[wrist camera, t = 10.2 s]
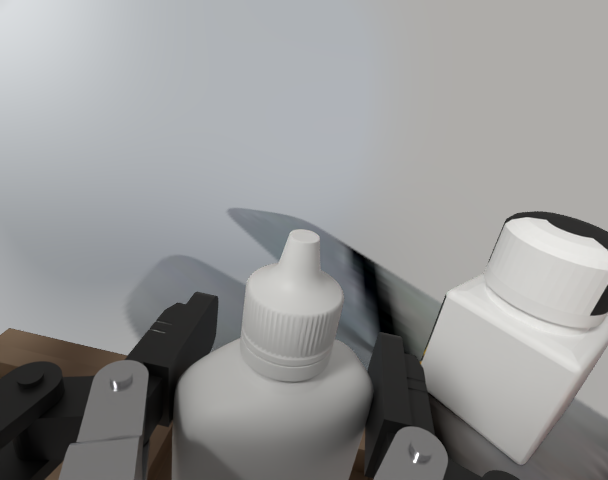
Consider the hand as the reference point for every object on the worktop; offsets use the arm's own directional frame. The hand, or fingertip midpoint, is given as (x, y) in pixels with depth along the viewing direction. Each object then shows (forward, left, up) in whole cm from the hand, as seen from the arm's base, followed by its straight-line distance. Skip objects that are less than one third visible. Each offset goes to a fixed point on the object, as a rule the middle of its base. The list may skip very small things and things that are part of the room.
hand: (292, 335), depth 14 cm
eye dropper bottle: (0, -3, -7) cm, 8 cm away
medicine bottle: (+12, +10, -10) cm, 18 cm away
